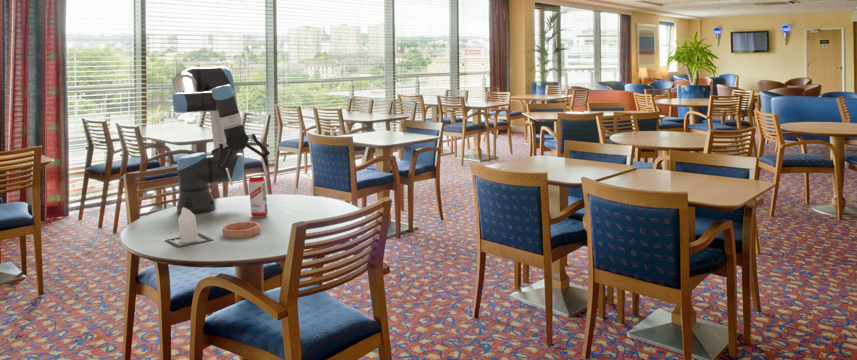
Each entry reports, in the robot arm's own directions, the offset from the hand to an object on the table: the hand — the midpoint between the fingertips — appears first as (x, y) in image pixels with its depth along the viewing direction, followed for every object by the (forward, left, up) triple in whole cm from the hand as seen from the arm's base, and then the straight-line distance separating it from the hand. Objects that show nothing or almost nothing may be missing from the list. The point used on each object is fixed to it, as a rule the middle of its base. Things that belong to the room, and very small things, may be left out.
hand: (249, 179), depth 257 cm
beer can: (-1, +3, -15) cm, 16 cm away
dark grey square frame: (+14, -31, -15) cm, 37 cm away
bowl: (+19, -14, -15) cm, 28 cm away
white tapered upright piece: (+14, -31, -15) cm, 37 cm away
